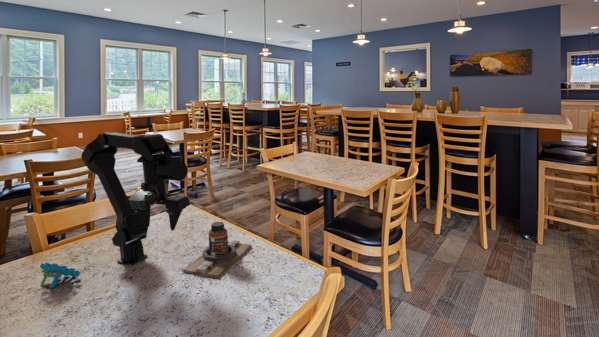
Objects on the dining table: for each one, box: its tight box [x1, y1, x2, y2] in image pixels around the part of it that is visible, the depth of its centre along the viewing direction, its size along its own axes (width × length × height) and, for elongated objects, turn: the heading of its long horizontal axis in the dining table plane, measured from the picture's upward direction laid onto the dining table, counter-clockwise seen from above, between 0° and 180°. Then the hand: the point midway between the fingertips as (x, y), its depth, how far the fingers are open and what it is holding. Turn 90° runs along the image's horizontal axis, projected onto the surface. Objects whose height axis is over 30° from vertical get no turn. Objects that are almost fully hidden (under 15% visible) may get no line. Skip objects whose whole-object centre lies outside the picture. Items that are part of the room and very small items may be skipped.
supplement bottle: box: [208, 221, 229, 257], centre depth 108 cm, size 6×6×11 cm
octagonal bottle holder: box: [182, 239, 253, 279], centre depth 109 cm, size 12×22×3 cm, turn 162°
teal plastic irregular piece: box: [39, 262, 81, 289], centre depth 95 cm, size 11×6×10 cm
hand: (160, 228), depth 101 cm, fingers open, 9 cm apart
